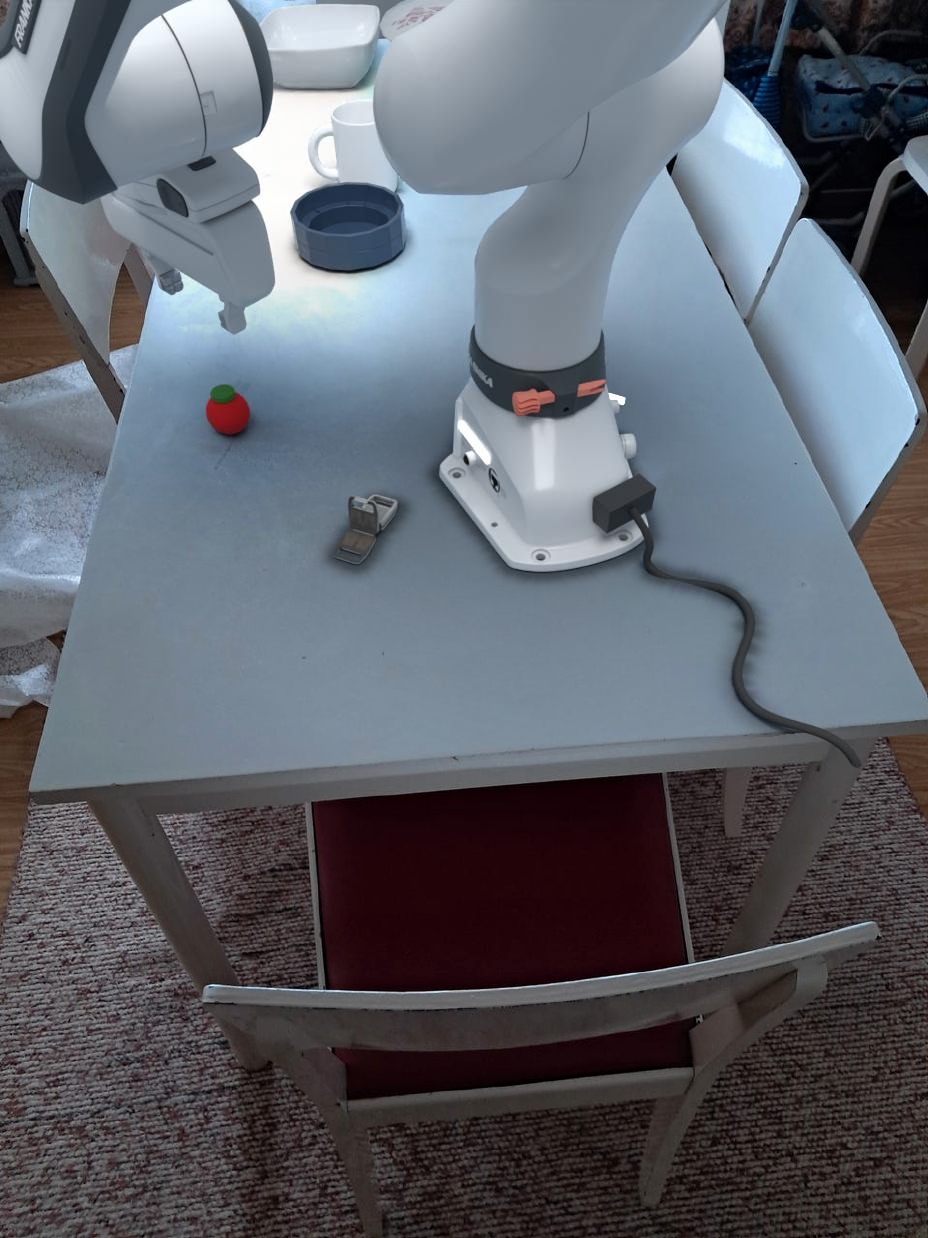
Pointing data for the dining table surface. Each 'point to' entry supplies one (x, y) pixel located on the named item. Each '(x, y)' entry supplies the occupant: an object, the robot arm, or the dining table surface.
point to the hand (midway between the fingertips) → (203, 309)
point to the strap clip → (365, 525)
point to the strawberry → (227, 410)
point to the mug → (353, 147)
